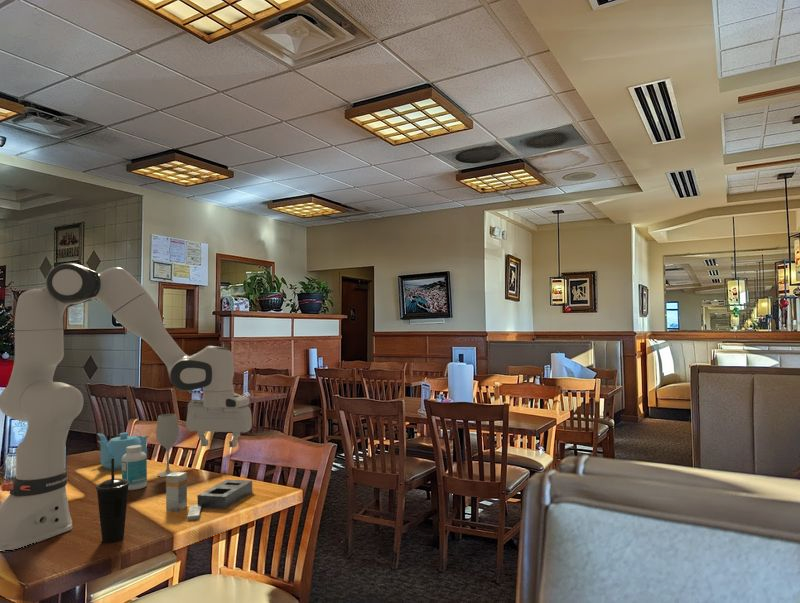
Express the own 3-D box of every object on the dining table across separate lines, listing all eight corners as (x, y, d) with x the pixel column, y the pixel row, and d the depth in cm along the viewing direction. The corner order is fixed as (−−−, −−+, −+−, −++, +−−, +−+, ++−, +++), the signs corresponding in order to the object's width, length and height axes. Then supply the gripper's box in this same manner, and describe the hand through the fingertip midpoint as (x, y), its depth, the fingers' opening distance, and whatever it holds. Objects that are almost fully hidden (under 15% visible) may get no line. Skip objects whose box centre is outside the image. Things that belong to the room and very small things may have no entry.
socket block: (225, 509, 160) (225, 496, 160) (197, 507, 162) (197, 495, 162) (252, 491, 176) (252, 480, 176) (226, 490, 178) (226, 479, 178)
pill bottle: (151, 484, 187) (151, 443, 187) (138, 491, 179) (138, 449, 180) (130, 484, 187) (130, 443, 188) (117, 491, 180) (116, 449, 180)
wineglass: (157, 472, 201) (157, 414, 202) (180, 470, 203) (179, 412, 204) (155, 478, 194) (154, 417, 195) (178, 475, 196) (177, 416, 197)
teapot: (97, 474, 201) (97, 440, 201) (97, 463, 217) (97, 431, 217) (149, 467, 209) (149, 434, 209) (145, 457, 225) (145, 426, 226)
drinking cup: (135, 532, 144) (134, 454, 144) (121, 544, 136) (121, 462, 137) (105, 533, 143) (104, 455, 144) (89, 545, 136) (89, 463, 136)
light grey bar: (199, 521, 152) (199, 515, 152) (187, 522, 151) (187, 516, 152) (201, 509, 162) (201, 503, 162) (190, 510, 161) (190, 504, 161)
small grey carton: (178, 511, 159) (178, 476, 159) (166, 510, 160) (165, 475, 160) (187, 506, 163) (186, 472, 163) (174, 505, 164) (174, 471, 164)
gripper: (181, 400, 166) (181, 447, 166) (243, 401, 161) (244, 450, 161) (194, 398, 172) (194, 443, 172) (254, 399, 168) (254, 445, 167)
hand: (218, 446), depth 166 cm, fingers open, 8 cm apart
